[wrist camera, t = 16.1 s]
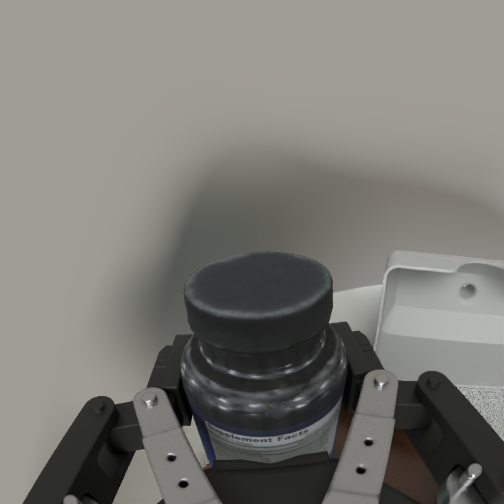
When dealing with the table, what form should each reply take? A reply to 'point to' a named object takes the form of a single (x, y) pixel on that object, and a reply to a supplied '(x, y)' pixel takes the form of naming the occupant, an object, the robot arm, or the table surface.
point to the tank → (442, 318)
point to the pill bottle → (263, 357)
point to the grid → (395, 463)
